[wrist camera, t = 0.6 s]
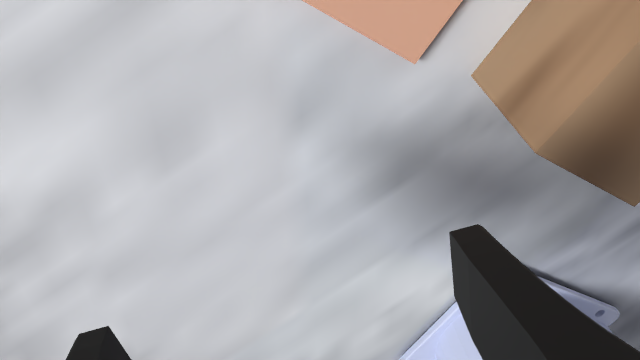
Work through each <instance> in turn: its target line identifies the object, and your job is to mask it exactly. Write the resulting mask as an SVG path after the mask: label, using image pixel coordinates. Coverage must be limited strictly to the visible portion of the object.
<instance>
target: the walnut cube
mask: <svg viewBox="0 0 640 360" xmlns="http://www.w3.org/2000/svg"><path fill="white" fill-rule="evenodd" d="M471 76H472V78H473V79H474V80H475V81H476V82H477V84H478V85H479V86H480V87H481V88H482V90H483V91H484V92H485V93H486V94H487V96H488V97H489V98H490V99H491V100H492V102H493V103H494V104H495V105H496V106H497V108H498V109H499V110H500V111H501V112H502V114H503V115H504V116H505V117H506V118H507V120H508V121H509V122H510V123H511V124H512V126H513V127H514V128H515V129H516V130H517V132H518V133H519V134H520V135H521V137H522V138H523V139H524V140H525V141H526V143H527V144H528V145H529V146H530V147H531V149H532V150H533V151H534V152H535V153H536V154H538V155H539V156H541V157H543V158H545V159H547V160H549V161H551V162H552V163H554V164H556V165H558V166H560V167H562V168H564V169H565V170H567V171H569V172H571V173H573V174H575V175H576V176H578V177H580V178H582V179H584V180H586V181H588V182H589V183H591V184H593V185H595V186H597V187H599V188H601V189H602V190H604V191H606V192H608V193H610V194H612V195H613V196H615V197H617V198H619V199H621V200H623V201H625V202H626V203H628V204H630V205H632V206H634V207H635V206H636V205H637V204H638V203H639V202H640V0H532V1H531V2H530V3H529V4H528V6H527V7H526V8H525V9H524V10H523V12H522V13H521V14H520V15H519V17H518V18H517V19H516V20H515V22H514V23H513V24H512V25H511V27H510V28H509V29H508V30H507V32H506V33H505V34H504V35H503V37H502V38H501V39H500V40H499V42H498V43H497V44H496V45H495V47H494V48H493V49H492V50H491V51H490V53H489V54H488V55H487V56H486V58H485V59H484V60H483V61H482V63H481V64H480V65H479V66H478V68H477V69H476V70H475V71H474V73H473V74H472V75H471Z"/></svg>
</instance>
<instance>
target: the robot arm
mask: <svg viewBox="0 0 640 360" xmlns="http://www.w3.org/2000/svg"><path fill="white" fill-rule="evenodd" d="M449 233H450V246H451V259H452V272H453V285H454V296H455V299H456V302H455V303H454V304H453V305H452V306H451V307H450V308H449V309H448V310H447V311H446V312H445V313H444V314H443V315H442V316H441V317H440V318H439V319H438V320H437V321H436V322H435V323H434V324H433V325H432V326H431V327H430V328H429V329H428V330H427V331H426V332H425V333H424V334H423V335H422V336H421V337H420V338H419V339H418V340H417V341H416V342H415V343H414V344H413V345H412V346H411V347H410V348H409V349H408V350H407V351H406V352H405V353H404V354H403V356H402V357H401V358H400V359H399V360H640V352H639V351H638V350H636V349H635V348H633V347H631V346H630V345H628V344H627V343H625V342H624V341H622V340H621V339H619V338H618V337H616V336H615V335H614V334H613V333H612V331H611V330H610V328H609V326H610V325H611V324H612V323H613V322H615V321H616V320H617V319H618V318H619V316H620V312H619V311H618V310H617V308H615V307H614V306H611V305H609V304H606V303H604V302H601V301H599V300H596V299H594V298H591V297H589V296H586V295H584V294H581V293H579V292H576V291H574V290H571V289H569V288H566V287H564V286H561V285H559V284H556V283H554V282H551V281H549V280H546V279H544V278H541V277H539V276H536V275H535V274H534V273H533V272H531V271H530V270H529V269H528V268H527V267H526V266H524V265H523V264H522V263H521V262H520V261H519V260H518V259H517V258H515V257H514V256H513V255H512V254H511V253H510V252H509V251H508V250H507V249H505V248H504V247H503V246H502V245H501V244H500V243H499V242H498V241H497V240H496V239H495V238H494V237H493V236H492V235H491V234H490V233H489V232H488V231H487V230H486V229H485V228H484V227H482V226H480V225H478V224H477V225H473V226H469V227H466V228H462V229H459V230H455V231H451V232H449ZM66 360H131V359H130V357H129V356H128V354H127V353H126V351H125V350H124V348H123V347H122V345H121V344H120V342H119V341H118V339H117V338H116V336H115V335H114V334H113V332H112V331H111V329H110V328H109V326H106V327H103V328H99V329H96V330H92V331H88V332H85V333H81V334H79V335H78V337H77V339H76V340H75V342H74V344H73V346H72V348H71V350H70V352H69V354H68V356H67V358H66Z"/></svg>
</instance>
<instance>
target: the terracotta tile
mask: <svg viewBox="0 0 640 360" xmlns="http://www.w3.org/2000/svg"><path fill="white" fill-rule="evenodd" d="M302 1H304V2H306V3H308V4H309V5H311V6H313V7H315V8H317V9H318V10H320V11H322V12H324V13H325V14H327V15H329V16H331V17H332V18H334V19H336V20H338V21H339V22H341V23H343V24H345V25H347V26H348V27H350V28H352V29H354V30H355V31H357V32H359V33H361V34H362V35H364V36H366V37H368V38H369V39H371V40H373V41H375V42H377V43H378V44H380V45H382V46H384V47H385V48H387V49H389V50H391V51H392V52H394V53H396V54H398V55H399V56H401V57H403V58H405V59H407V60H408V61H410V62H412V63H414V64H416V62H417V61H418V60H419V58H420V57H421V56H422V54H423V53H424V51H425V50H426V49H427V47H428V46H429V45H430V43H431V42H432V41H433V39H434V38H435V37H436V35H437V34H438V33H439V31H440V30H441V29H442V27H443V26H444V25H445V23H446V22H447V21H448V19H449V18H450V17H451V15H452V14H453V13H454V11H455V10H456V9H457V7H458V6H459V5H460V3H461V2H462V1H463V0H302Z"/></svg>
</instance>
